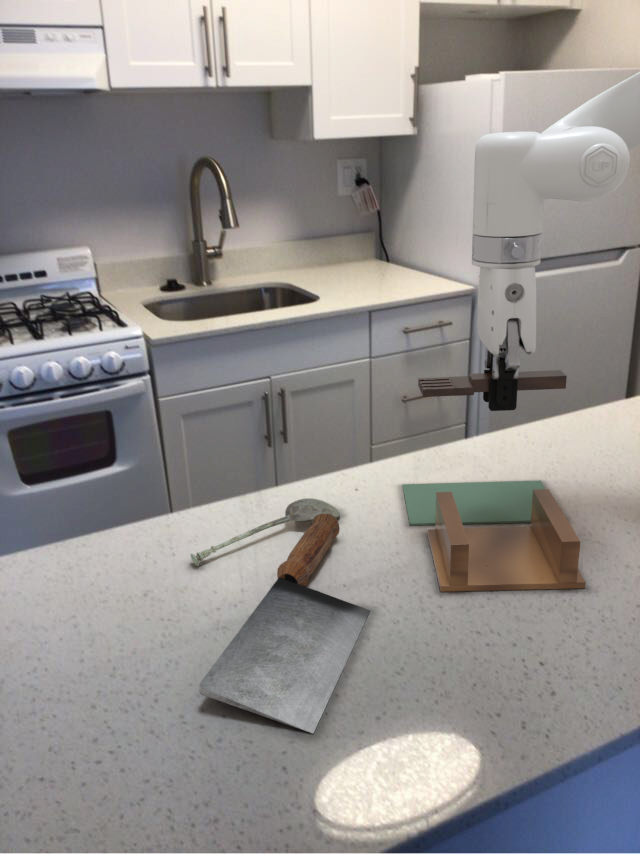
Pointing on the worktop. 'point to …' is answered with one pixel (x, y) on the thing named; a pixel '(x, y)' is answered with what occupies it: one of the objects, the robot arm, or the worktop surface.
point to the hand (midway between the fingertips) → (499, 404)
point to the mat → (473, 501)
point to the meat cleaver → (290, 642)
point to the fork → (481, 383)
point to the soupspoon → (278, 522)
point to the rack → (505, 550)
